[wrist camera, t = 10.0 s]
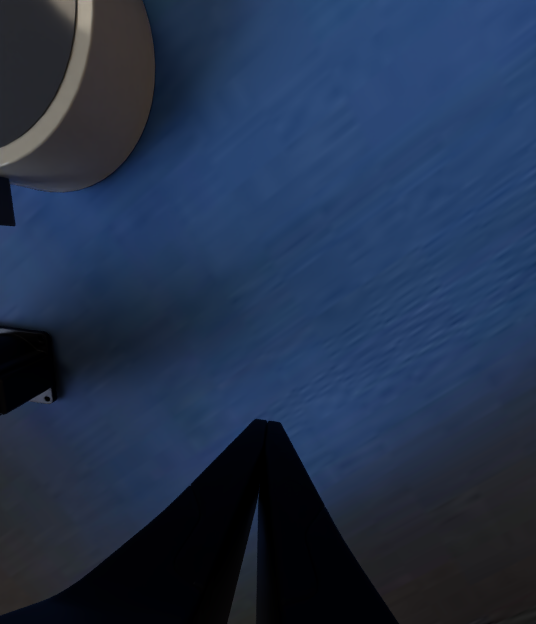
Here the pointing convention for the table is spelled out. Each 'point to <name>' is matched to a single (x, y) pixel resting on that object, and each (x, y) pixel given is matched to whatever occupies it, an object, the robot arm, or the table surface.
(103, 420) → the table surface
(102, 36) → the pot
